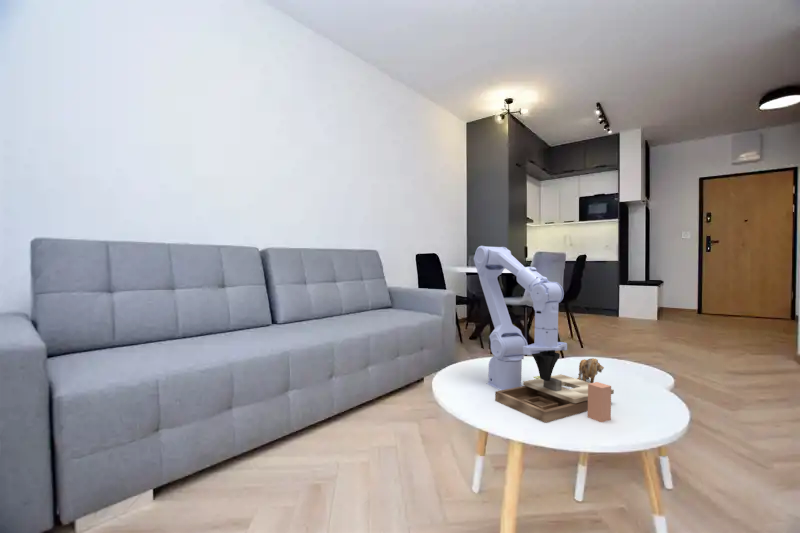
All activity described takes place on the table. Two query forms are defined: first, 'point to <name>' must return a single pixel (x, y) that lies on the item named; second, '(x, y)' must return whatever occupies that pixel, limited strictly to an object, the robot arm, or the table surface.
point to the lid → (555, 389)
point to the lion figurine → (589, 369)
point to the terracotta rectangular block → (599, 401)
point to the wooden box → (539, 403)
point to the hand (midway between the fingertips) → (545, 379)
